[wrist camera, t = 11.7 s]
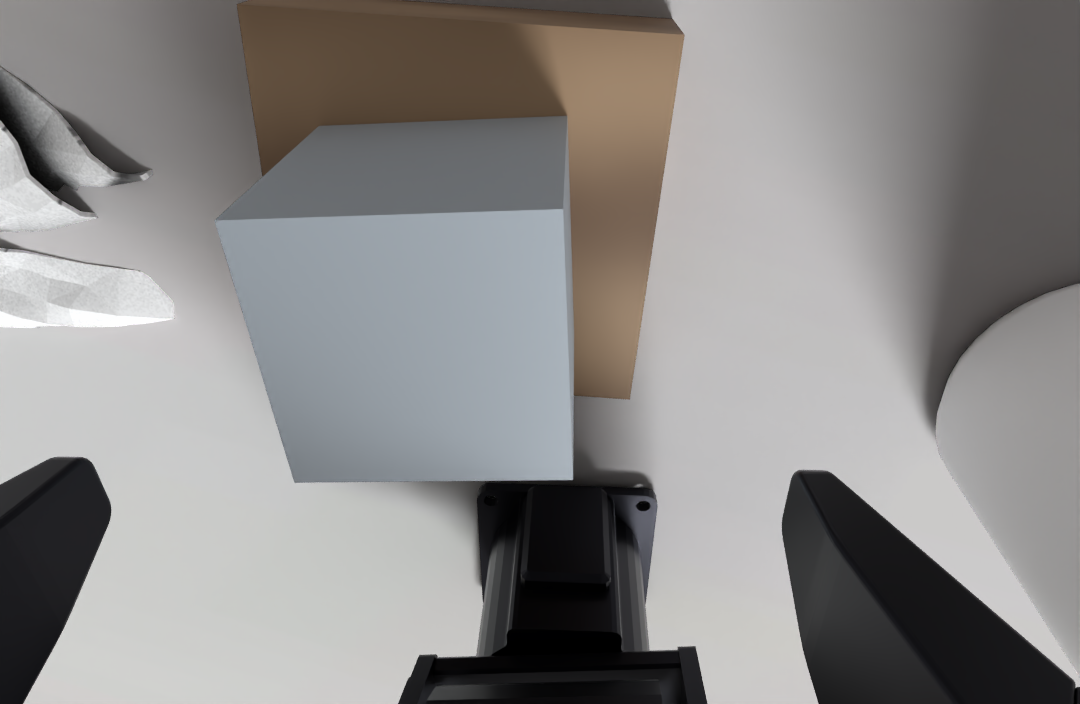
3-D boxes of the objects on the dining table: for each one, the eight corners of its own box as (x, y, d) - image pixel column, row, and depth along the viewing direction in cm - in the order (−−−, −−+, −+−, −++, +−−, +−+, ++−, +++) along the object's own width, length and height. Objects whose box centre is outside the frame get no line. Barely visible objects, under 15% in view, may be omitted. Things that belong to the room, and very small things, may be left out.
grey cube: (574, 333, 20) (572, 480, 15) (363, 338, 21) (294, 482, 16) (567, 115, 17) (563, 208, 12) (318, 125, 18) (214, 220, 13)
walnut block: (624, 346, 24) (629, 399, 22) (322, 324, 24) (292, 374, 22) (670, 15, 19) (684, 34, 16) (282, -11, 19) (236, 4, 16)
